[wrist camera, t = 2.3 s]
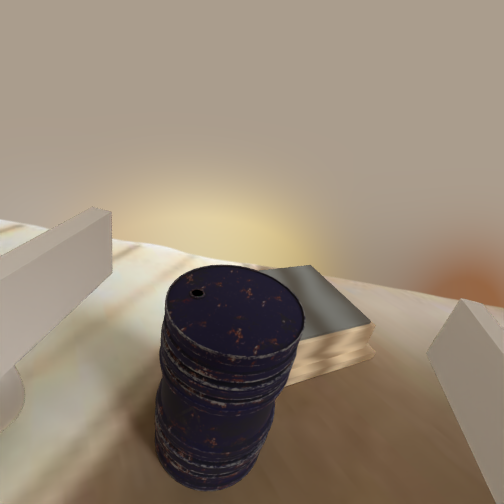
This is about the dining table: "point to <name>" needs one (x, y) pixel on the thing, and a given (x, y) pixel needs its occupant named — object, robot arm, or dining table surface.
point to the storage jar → (222, 371)
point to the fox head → (10, 397)
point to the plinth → (331, 353)
